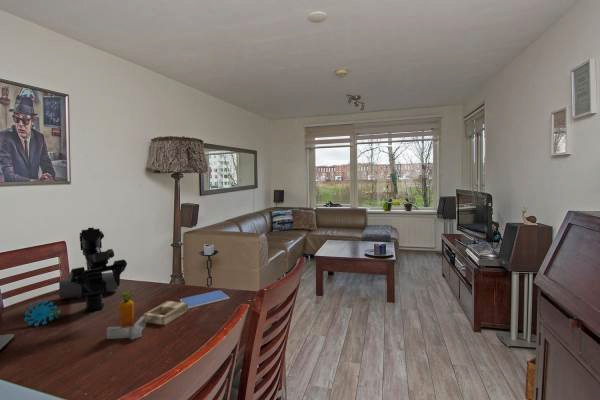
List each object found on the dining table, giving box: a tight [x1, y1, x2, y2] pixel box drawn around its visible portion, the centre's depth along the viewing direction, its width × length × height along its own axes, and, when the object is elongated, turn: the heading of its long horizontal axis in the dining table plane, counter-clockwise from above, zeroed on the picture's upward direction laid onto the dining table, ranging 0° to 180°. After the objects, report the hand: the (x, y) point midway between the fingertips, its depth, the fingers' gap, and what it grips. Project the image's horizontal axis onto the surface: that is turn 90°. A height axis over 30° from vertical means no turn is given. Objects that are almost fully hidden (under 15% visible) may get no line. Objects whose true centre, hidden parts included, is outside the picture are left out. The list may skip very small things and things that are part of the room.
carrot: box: [118, 290, 135, 326], centre depth 115 cm, size 5×5×15 cm
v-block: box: [106, 315, 147, 341], centre depth 114 cm, size 9×13×4 cm, turn 140°
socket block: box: [142, 300, 189, 326], centre depth 129 cm, size 10×14×3 cm
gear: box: [24, 300, 62, 327], centre depth 125 cm, size 11×6×10 cm
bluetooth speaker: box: [58, 271, 119, 299], centre depth 152 cm, size 23×9×10 cm, turn 120°
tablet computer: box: [179, 290, 230, 310], centre depth 146 cm, size 19×13×1 cm, turn 126°
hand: (105, 288), depth 121 cm, fingers open, 9 cm apart
